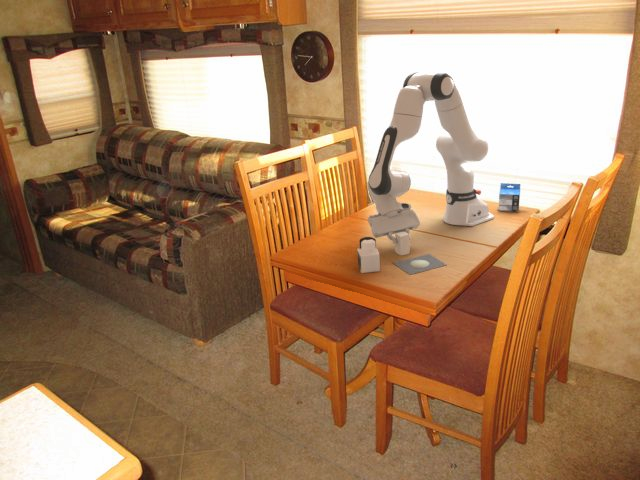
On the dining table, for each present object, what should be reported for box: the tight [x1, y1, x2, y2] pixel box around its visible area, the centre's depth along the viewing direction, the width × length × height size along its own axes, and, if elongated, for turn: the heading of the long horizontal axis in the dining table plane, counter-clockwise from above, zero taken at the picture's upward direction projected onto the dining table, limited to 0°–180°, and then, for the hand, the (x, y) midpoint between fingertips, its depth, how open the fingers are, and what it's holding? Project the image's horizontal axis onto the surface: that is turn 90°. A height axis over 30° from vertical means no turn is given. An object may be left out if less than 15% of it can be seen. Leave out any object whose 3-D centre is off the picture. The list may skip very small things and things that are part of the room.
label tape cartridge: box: [497, 182, 521, 213], centre depth 242 cm, size 9×4×12 cm, turn 67°
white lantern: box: [356, 236, 381, 274], centre depth 195 cm, size 7×7×12 cm
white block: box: [394, 231, 411, 256], centre depth 207 cm, size 4×4×8 cm
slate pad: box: [393, 253, 448, 275], centre depth 197 cm, size 16×12×1 cm
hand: (402, 241), depth 207 cm, fingers closed on white block, 4 cm apart
